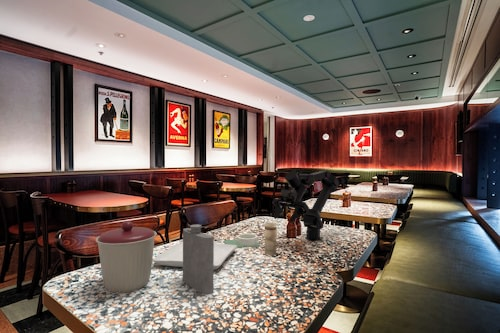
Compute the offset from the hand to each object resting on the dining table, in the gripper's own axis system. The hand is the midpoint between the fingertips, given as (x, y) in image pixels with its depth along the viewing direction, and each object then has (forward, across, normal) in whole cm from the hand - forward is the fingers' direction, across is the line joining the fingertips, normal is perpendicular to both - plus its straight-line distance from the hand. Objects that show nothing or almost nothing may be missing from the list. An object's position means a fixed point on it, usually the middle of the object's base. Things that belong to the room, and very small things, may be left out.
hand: (282, 220), depth 129 cm
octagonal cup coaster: (+15, -20, +4) cm, 25 cm away
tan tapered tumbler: (+15, 0, +4) cm, 16 cm away
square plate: (+35, -16, -15) cm, 41 cm away
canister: (+56, -10, -37) cm, 68 cm away
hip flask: (+45, +6, -26) cm, 52 cm away
